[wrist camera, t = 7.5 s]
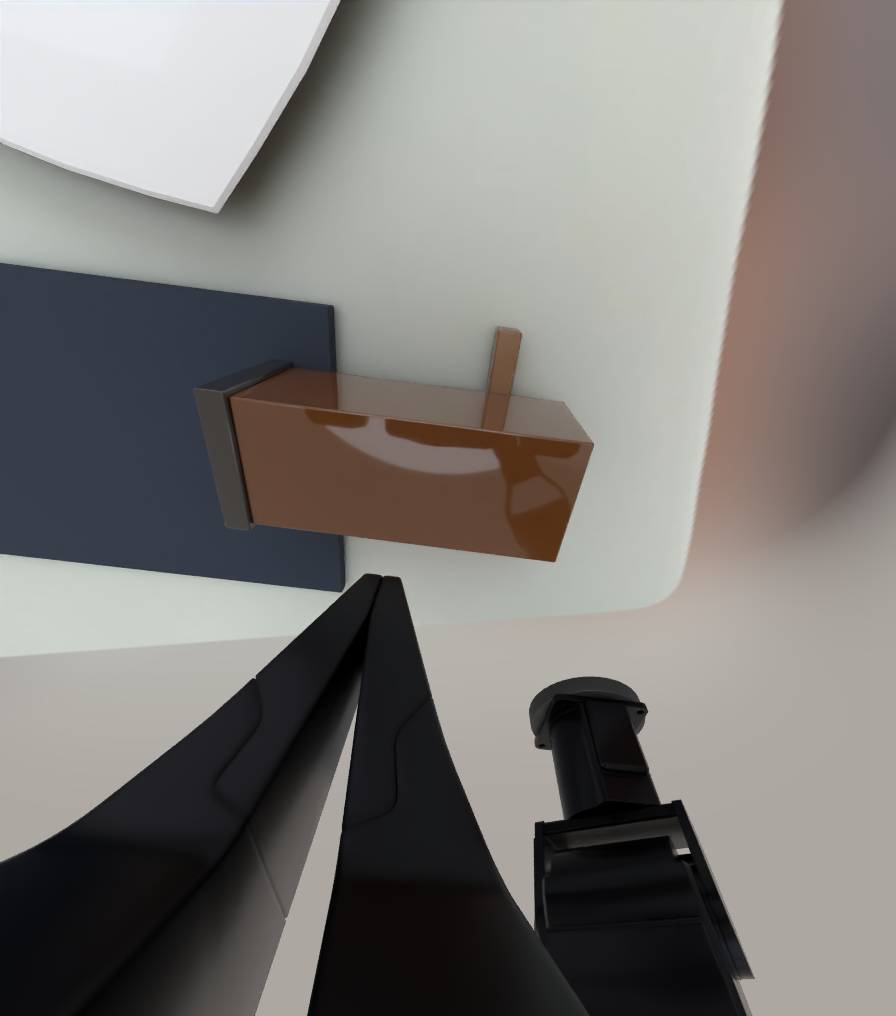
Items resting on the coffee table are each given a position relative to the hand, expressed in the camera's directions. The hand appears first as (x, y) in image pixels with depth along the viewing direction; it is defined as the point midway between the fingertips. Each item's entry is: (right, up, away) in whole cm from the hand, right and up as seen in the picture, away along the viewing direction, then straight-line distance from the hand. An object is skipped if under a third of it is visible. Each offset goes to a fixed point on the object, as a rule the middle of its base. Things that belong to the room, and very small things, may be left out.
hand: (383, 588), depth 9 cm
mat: (-19, +6, +11) cm, 23 cm away
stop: (+4, +5, +10) cm, 12 cm away
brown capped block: (+6, +3, +7) cm, 10 cm away
